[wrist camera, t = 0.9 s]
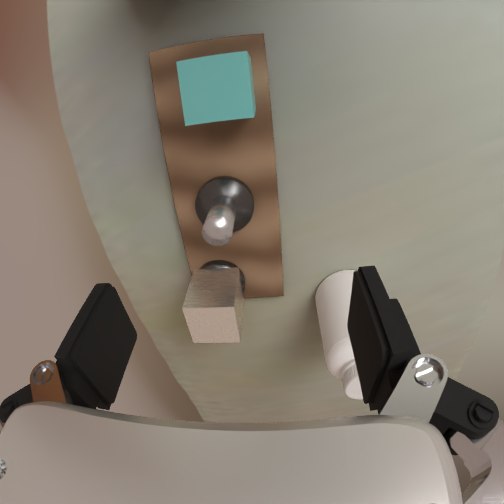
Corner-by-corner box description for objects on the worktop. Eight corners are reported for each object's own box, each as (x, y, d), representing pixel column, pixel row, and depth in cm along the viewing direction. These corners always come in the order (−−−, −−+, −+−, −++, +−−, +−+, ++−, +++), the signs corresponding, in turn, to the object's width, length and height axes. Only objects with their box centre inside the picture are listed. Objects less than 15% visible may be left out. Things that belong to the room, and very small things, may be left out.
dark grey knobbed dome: (192, 179, 30) (176, 204, 25) (251, 173, 30) (247, 197, 24) (202, 230, 34) (190, 264, 28) (256, 226, 33) (255, 260, 27)
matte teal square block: (195, 65, 24) (176, 61, 18) (250, 57, 24) (246, 50, 18) (201, 115, 27) (185, 126, 21) (256, 109, 26) (254, 117, 21)
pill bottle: (372, 262, 36) (412, 354, 23) (371, 308, 40) (400, 397, 28) (311, 273, 37) (329, 373, 25) (316, 318, 41) (331, 412, 29)
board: (152, 52, 24) (148, 52, 23) (263, 34, 23) (263, 33, 22) (199, 294, 40) (198, 299, 39) (283, 290, 39) (283, 295, 38)
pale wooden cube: (192, 261, 36) (177, 305, 29) (242, 258, 35) (237, 303, 29) (201, 299, 39) (190, 345, 32) (247, 297, 38) (244, 344, 32)
